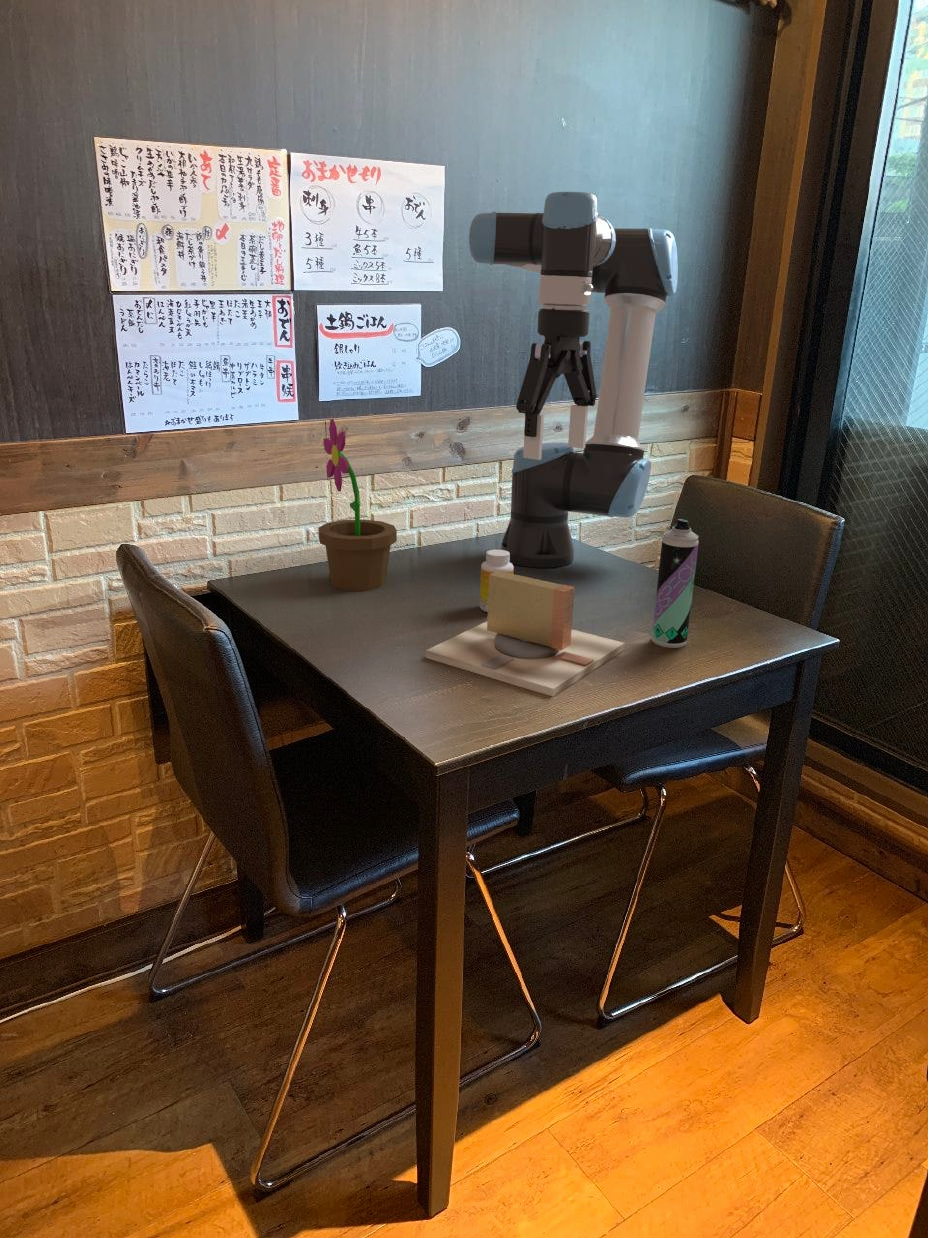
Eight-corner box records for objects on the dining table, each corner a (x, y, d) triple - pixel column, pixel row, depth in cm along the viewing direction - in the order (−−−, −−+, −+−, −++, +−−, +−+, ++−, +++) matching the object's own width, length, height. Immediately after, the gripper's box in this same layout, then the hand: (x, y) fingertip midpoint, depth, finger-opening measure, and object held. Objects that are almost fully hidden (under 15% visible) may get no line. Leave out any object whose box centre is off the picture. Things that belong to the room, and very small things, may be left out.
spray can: (645, 637, 150) (657, 516, 143) (673, 633, 152) (687, 514, 145) (664, 649, 146) (677, 525, 139) (693, 645, 147) (708, 522, 141)
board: (505, 618, 157) (506, 605, 156) (624, 650, 145) (625, 635, 144) (425, 657, 140) (426, 642, 139) (552, 696, 128) (553, 680, 127)
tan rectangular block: (486, 632, 144) (489, 574, 140) (496, 627, 146) (498, 570, 143) (561, 651, 137) (566, 591, 134) (570, 646, 139) (574, 587, 136)
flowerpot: (308, 576, 176) (303, 414, 165) (379, 567, 182) (378, 412, 172) (334, 598, 164) (330, 426, 154) (409, 589, 170) (410, 423, 160)
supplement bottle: (491, 616, 157) (493, 558, 154) (473, 607, 162) (475, 550, 158) (518, 611, 160) (520, 554, 157) (499, 602, 165) (501, 546, 161)
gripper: (542, 309, 125) (534, 467, 132) (625, 308, 144) (613, 445, 151) (496, 307, 129) (490, 460, 136) (582, 306, 148) (573, 440, 155)
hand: (555, 452), depth 144 cm, fingers open, 13 cm apart
